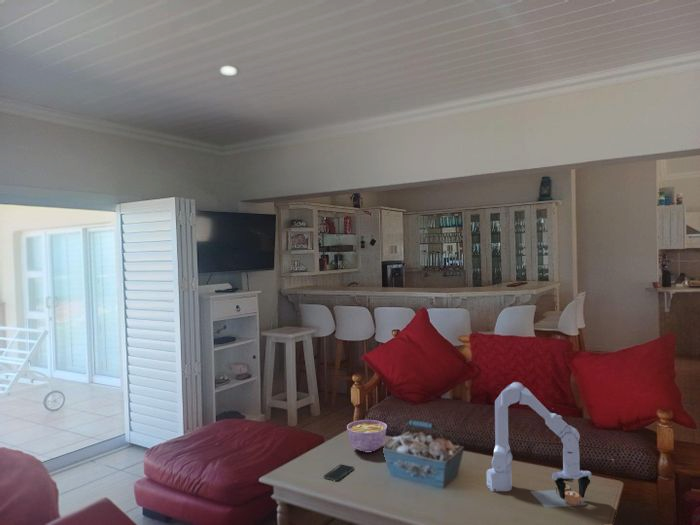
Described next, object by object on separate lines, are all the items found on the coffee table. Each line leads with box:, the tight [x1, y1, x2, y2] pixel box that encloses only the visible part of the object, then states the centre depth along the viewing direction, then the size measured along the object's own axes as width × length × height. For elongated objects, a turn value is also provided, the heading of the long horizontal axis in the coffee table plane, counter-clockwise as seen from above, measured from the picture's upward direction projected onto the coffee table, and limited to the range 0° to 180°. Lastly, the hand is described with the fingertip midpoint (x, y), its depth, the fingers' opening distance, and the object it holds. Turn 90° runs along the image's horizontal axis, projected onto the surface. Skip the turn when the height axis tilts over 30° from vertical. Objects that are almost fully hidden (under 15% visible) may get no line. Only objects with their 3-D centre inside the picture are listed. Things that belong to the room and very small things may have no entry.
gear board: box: [530, 489, 587, 509], centre depth 198 cm, size 16×13×4 cm
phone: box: [323, 464, 355, 482], centre depth 229 cm, size 8×1×15 cm
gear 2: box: [564, 490, 581, 504], centre depth 195 cm, size 6×6×3 cm
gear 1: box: [555, 484, 572, 495], centre depth 201 cm, size 6×6×4 cm
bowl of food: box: [346, 419, 388, 452], centre depth 257 cm, size 20×20×12 cm
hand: (571, 497), depth 195 cm, fingers open, 7 cm apart
